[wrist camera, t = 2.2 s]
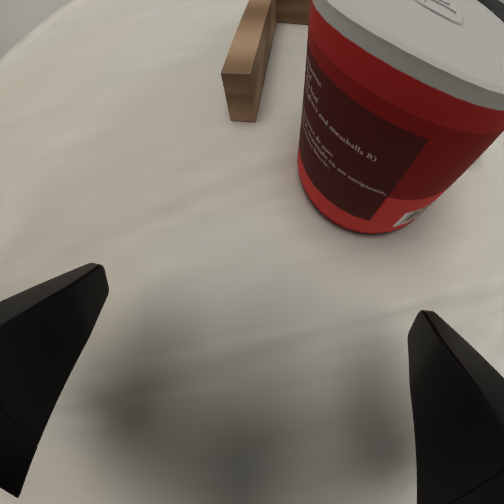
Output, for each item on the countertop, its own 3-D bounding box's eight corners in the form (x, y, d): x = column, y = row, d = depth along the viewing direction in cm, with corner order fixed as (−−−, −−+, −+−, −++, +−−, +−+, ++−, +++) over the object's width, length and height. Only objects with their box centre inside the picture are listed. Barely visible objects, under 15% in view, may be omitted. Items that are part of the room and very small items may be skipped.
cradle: (472, 163, 16) (536, 90, 8) (230, 120, 17) (207, 11, 10) (435, 45, 19) (460, -19, 11) (261, 13, 21) (255, -61, 13)
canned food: (429, 143, 16) (507, 13, 6) (413, 259, 14) (566, 150, 4) (316, 103, 17) (335, -56, 7) (276, 211, 16) (275, 18, 5)
